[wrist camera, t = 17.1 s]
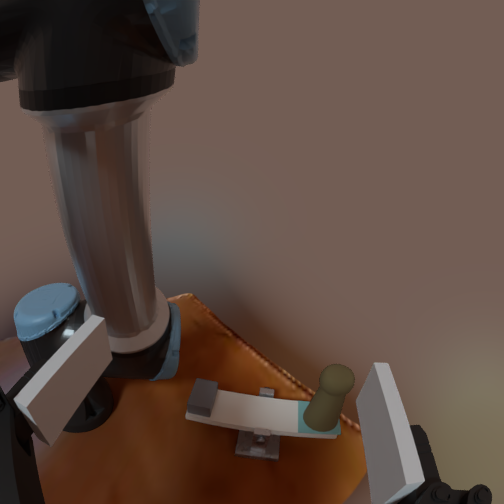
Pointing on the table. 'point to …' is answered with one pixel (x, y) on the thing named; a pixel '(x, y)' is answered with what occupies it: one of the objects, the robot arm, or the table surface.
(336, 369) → the cork
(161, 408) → the table surface
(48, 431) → the robot arm
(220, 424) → the beam
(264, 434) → the stand
